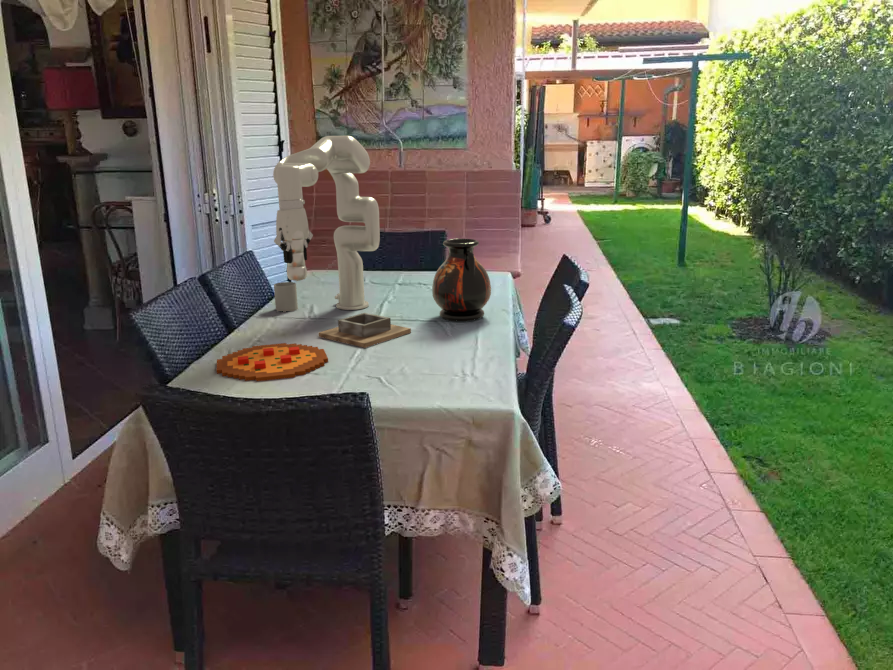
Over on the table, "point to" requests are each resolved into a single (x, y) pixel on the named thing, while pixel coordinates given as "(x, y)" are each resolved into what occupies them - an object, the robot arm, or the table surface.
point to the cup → (285, 296)
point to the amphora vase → (461, 283)
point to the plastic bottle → (297, 258)
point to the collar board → (364, 330)
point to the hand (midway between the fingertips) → (295, 260)
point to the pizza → (271, 362)
